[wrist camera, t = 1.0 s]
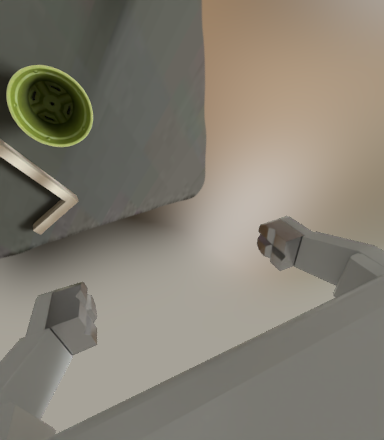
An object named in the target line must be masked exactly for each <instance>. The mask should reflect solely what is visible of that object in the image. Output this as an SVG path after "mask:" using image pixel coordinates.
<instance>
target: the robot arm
mask: <svg viewBox="0 0 384 440" xmlns="http://www.w3.org/2000/svg"><path fill="white" fill-rule="evenodd" d="M259 233H260V236H259V237H258V240H257V245H258V248H259V250H260V252H261V253H262V254H263V255H264V256H265V257H268V258H270V262H271V263H272V264H273V265H274V266H275V267H276V268H277V269H278V270H279V271H281V270H284V269H287V268H290V267H292V266H294V267H296V268H298V269H300V270H303V271H305V272H307V273H309V274H312V275H314V276H316V277H318V278H320V279H323V280H325V281H327V282H329V283H331V284H334V285H336V288H335V290H334V292H333V294H334V296H335V297H336V298H334V299H332V300H330V301H328V302H326V303H324V304H322V305H320V306H317V307H316V308H314V309H311V310H310V311H307V312H305V313H303V314H301V315H299V316H297V317H295V318H293V319H291V320H289V321H287V322H285V323H283V324H281V325H279V326H277V327H274V328H272V329H271V330H268V331H266V332H265V333H262V334H260V335H258V336H256V337H254V338H252V339H250V340H248V341H246V342H244V343H242V344H240V345H238V346H236V347H234V348H231V349H229V350H227V351H226V352H223V353H221V354H219V355H217V356H215V357H213V358H211V359H209V360H207V361H205V362H203V363H201V364H199V365H197V366H195V367H193V368H190V369H189V370H187V371H184V372H182V373H180V374H178V375H176V376H174V377H172V378H170V379H168V380H166V381H164V382H162V383H160V384H158V385H156V386H154V387H152V388H150V389H148V390H146V391H143V392H141V393H140V394H137V395H135V396H133V397H131V398H129V399H127V400H125V401H123V402H121V403H119V404H117V405H115V406H113V407H111V408H109V409H107V410H105V411H103V412H101V413H98V414H97V415H95V416H92V417H90V418H88V419H86V420H84V421H82V422H80V423H78V424H76V425H74V426H72V427H70V428H68V429H66V430H64V431H62V432H60V433H58V434H56V435H55V429H54V428H53V427H51V426H49V425H48V424H46V423H44V422H43V421H41V420H40V419H41V418H42V416H43V414H44V412H45V410H46V407H47V406H48V404H49V402H50V400H51V398H52V396H53V394H54V392H55V390H56V388H57V386H58V385H59V383H60V381H61V379H62V377H63V375H64V373H65V371H66V369H67V367H68V365H69V363H70V361H71V359H72V358H73V356H72V355H75V354H77V353H79V352H81V351H84V350H86V349H88V348H91V347H93V346H96V345H97V328H96V326H95V324H94V321H95V320H96V318H97V313H96V306H95V303H94V300H93V297H92V295H89V294H87V286H86V285H85V283H84V282H81V283H77V284H74V285H70V286H67V287H64V288H60V289H57V290H54V291H51V292H48V293H45V294H41V295H39V296H38V297H37V299H36V301H35V304H34V308H33V311H32V315H31V319H30V322H29V326H28V329H27V333H26V337H24V338H21V339H20V340H19V341H18V342H17V343H16V344H15V345H14V347H13V348H12V349H11V350H10V351H9V352H8V353H7V355H6V356H5V357H4V358H3V359H2V360H1V362H0V440H384V251H383V250H382V249H380V248H378V247H376V246H374V245H370V244H366V243H362V242H358V241H354V240H349V239H345V238H341V237H337V236H333V235H329V234H324V233H320V232H312V231H311V230H309V229H308V228H306V227H305V226H303V225H302V224H300V223H299V222H297V221H296V220H294V219H292V218H291V217H288V216H285V217H282V218H279V219H277V220H273V221H271V222H267V223H264V224H261V225H260V227H259Z"/></svg>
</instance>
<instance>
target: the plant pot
mask: <svg viewBox="0 0 384 440" xmlns="http://www.w3.org/2000/svg"><path fill="white" fill-rule="evenodd" d="M51 85H52V86H54V87H57V88H59V89H60V91H58V90H56V89H54V88H51V87H50V86H51ZM34 91H36V95H35V101H33V100H32V95H33V92H34ZM6 99H7V105H8V108H9V111H10V113H11V115H12V117H13V119H14V120H15V122H16V123H17V125H18V126H19V127H20V128H21V129H22V130H23V131H24V132H25V133H26V134H27V135H29V136H30V137H31V138H33V139H35V140H36V141H38V142H40V143H43V144H46V145H50V146H54V147H67V146H72V145H74V144H77V143H79V142H80V141H82V140H83V139H84V138H85V137H86V136H87V135H88V133H89V131H90V130H91V127H92V122H93V111H92V106H91V103H90V100H89V98H88V96H87V94H86V93H85V91H84V90H83V88H82V87H81V86H80V85H79V84H78V83H77V82H76V81H75V80H74V79H73V78H72V77H70V76H69V75H68V74H66V73H64V72H62V71H61V70H58V69H56V68H53V67H50V66H45V65H32V66H27V67H24V68H22V69H20V70H18V71H17V72H16V73H15V74H14V75H13V76H12V77H11V79H10V81H9V83H8V86H7V92H6ZM51 102H53V103H54V105H51V104H50V103H51ZM69 106H70V113H69V114H67V111H68V108H69ZM45 116H47V117H49V118H52V119H54V120H53V121H52V120H49V119H47V118H45Z"/></svg>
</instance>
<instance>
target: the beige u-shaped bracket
mask: <svg viewBox="0 0 384 440" xmlns="http://www.w3.org/2000/svg"><path fill="white" fill-rule="evenodd" d="M0 157H2V158H3V159H5V160H6V161H7V162H9V163H10V164H12V165H13V166H15V167H16V168H18V169H19V170H20V171H22V172H23V173H25V174H26V175H28V176H29V177H31V178H32V179H33V180H35V181H36V182H38V183H39V184H41V185H42V186H44V187H45V188H47V189H48V190H49V191H51V192H52V193H54V194H55V195H57V196H58V197H60V198H61V200H60V201H59V202H58V203H56V204H55V205H54V206H53V207H52V208H51V209H50V210H48V211H47V212H46V213H45V214H44V215H43V216H42V217H40V218H39V219H38V220H37V221H36V222H35V223H34V224H33V231H35V232H37V233H39V234H42V233H43V232H44V231H45V230H46V229H48V228H49V227H50V226H51V225H52V224H53V223H54V222H56V221H57V220H58V219H59V218H60V217H61V216H62V215H63V214H65V213H66V212H67V211H68V210H69V209H70V208H71V207H73V206H74V205H75V204H76V203H77V202H78V198H77V196H76V195H75V194H74V193H72V192H71V191H70V190H68V189H67V188H66V187H64V186H63V185H62V184H60V183H59V182H58V181H56V180H55V179H53V178H52V177H51V176H49V175H48V174H47V173H45V172H44V171H43V170H41V169H40V168H39V167H37V166H36V165H35V164H33V163H32V162H31V161H29V160H28V159H27V158H25V157H24V156H23V155H21V154H20V153H19V152H17V151H16V150H15V149H13V148H12V147H11V146H9V145H8V144H6V143H5V142H4V141H2V140H1V139H0Z"/></svg>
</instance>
